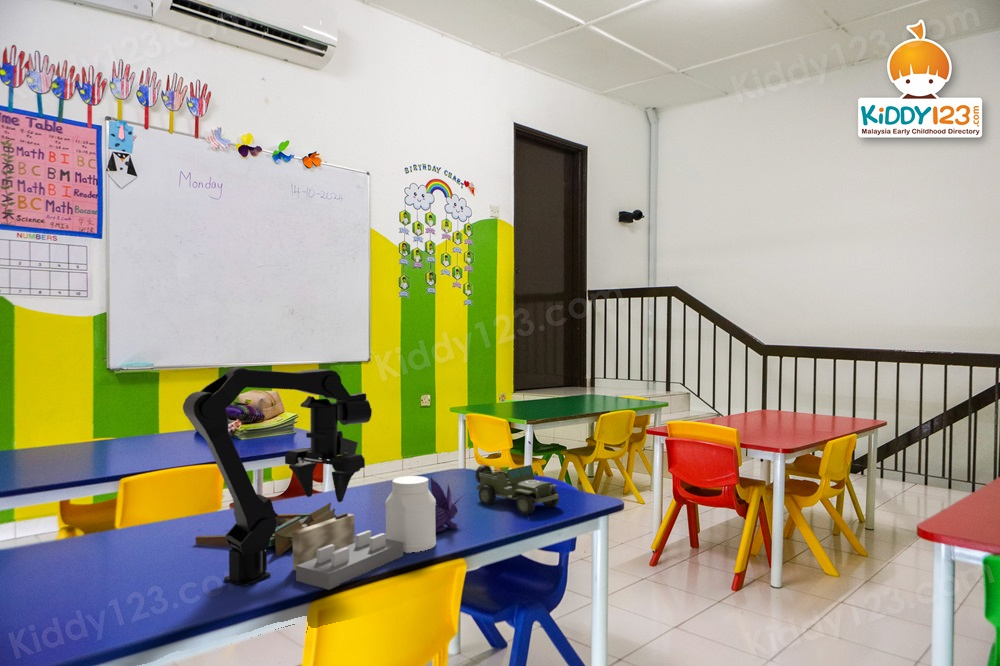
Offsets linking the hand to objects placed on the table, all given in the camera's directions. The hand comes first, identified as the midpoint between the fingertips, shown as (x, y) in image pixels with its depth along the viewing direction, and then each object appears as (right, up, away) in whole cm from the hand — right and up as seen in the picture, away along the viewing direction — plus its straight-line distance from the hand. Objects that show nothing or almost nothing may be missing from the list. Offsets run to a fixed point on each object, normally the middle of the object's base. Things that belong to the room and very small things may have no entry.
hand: (324, 499), depth 143 cm
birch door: (0, -13, 0) cm, 13 cm away
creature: (+22, -13, +21) cm, 33 cm away
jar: (+18, -13, +9) cm, 24 cm away
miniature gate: (-16, -14, +17) cm, 27 cm away
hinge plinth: (+7, -13, -6) cm, 16 cm away
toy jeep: (+42, -13, +44) cm, 63 cm away
